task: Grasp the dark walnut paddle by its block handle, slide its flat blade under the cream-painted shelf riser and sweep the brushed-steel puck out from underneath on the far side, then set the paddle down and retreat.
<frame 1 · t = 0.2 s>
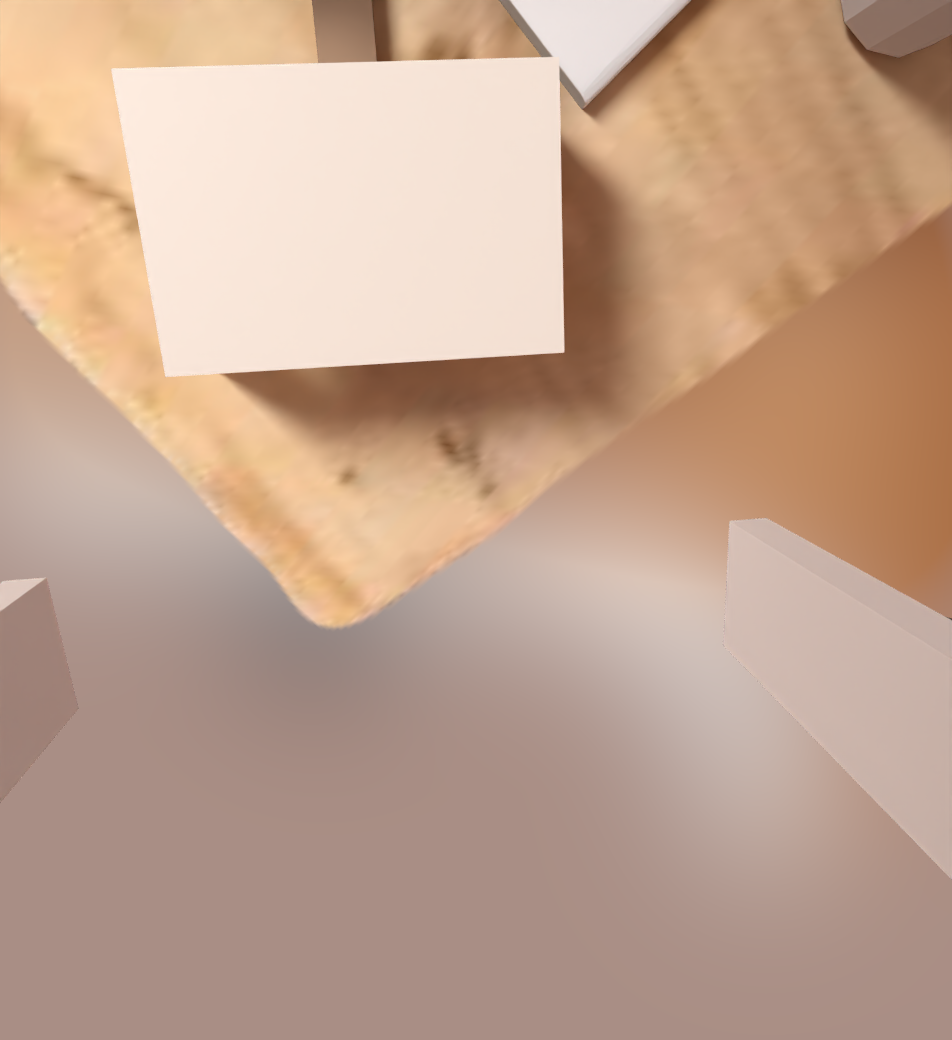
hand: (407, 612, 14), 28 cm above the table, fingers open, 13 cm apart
shelf riser: (365, 240, 37), on the table
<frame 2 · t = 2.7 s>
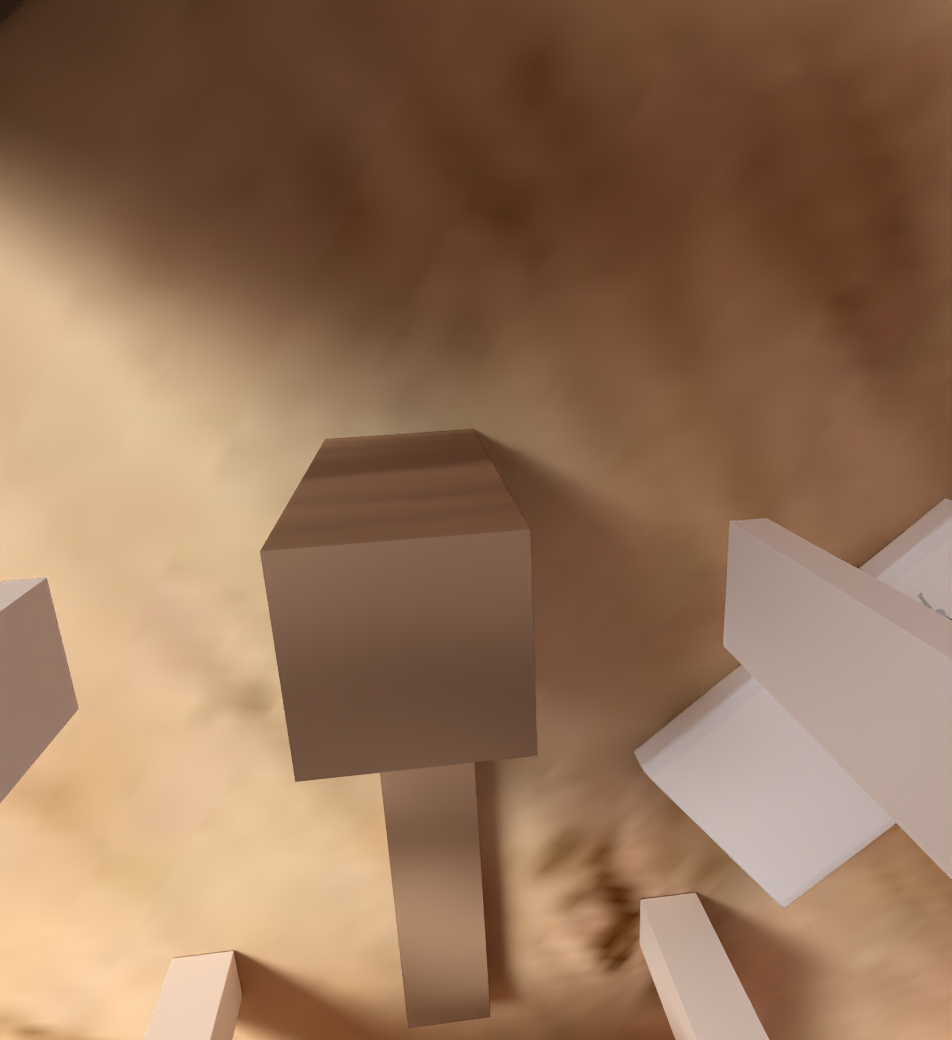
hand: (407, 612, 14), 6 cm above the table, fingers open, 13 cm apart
external hard drive: (839, 697, 24), on the table
walnut paddle: (405, 504, 20), on the table
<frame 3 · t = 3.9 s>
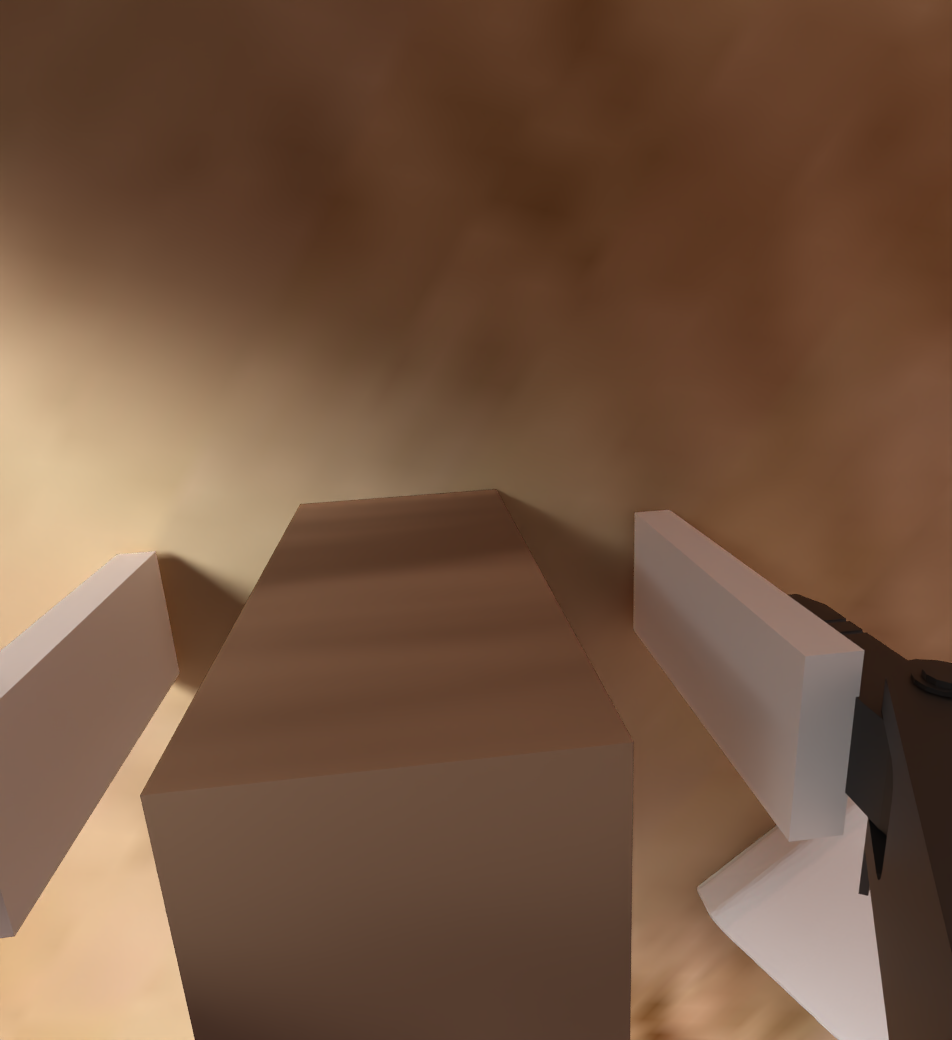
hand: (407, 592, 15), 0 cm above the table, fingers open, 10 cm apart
external hard drive: (949, 814, 19), on the table
walnut paddle: (407, 587, 15), on the table
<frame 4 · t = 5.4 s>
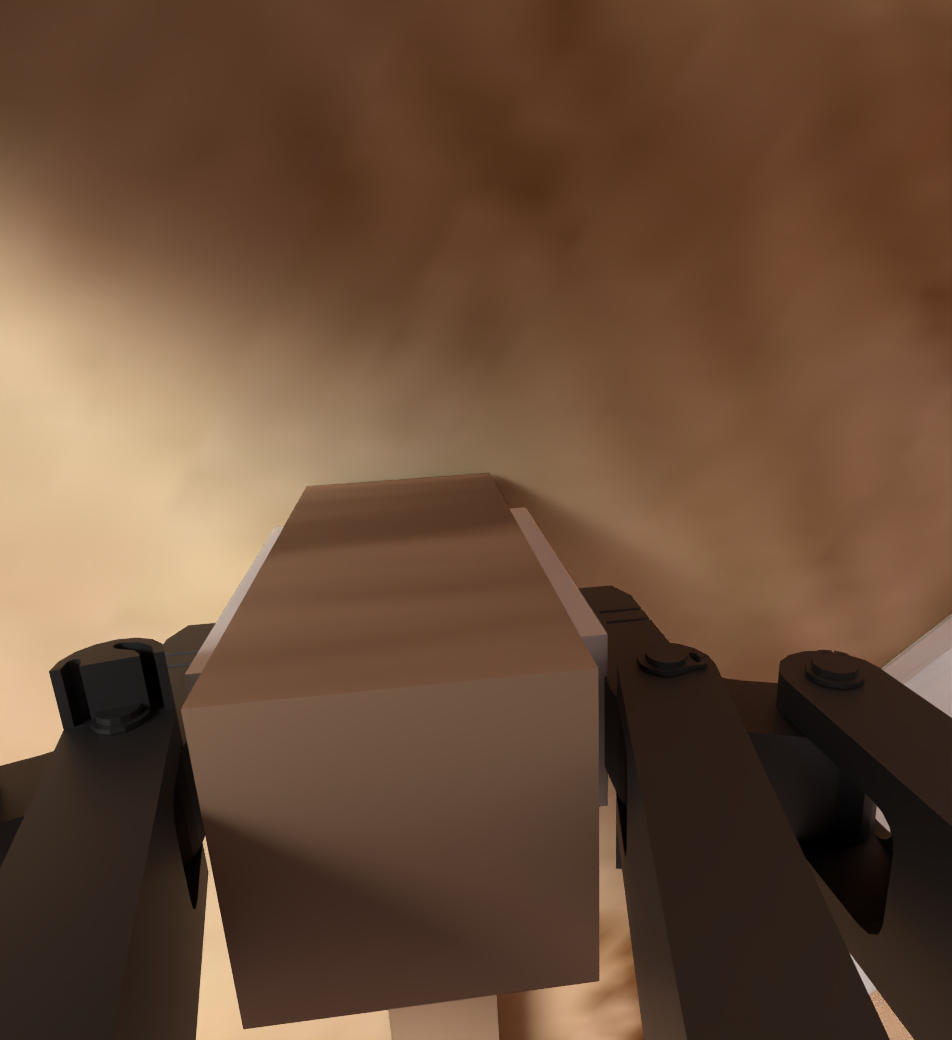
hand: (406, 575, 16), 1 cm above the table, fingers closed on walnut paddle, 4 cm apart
external hard drive: (914, 765, 20), on the table
walnut paddle: (406, 565, 16), on the table, touching gripper
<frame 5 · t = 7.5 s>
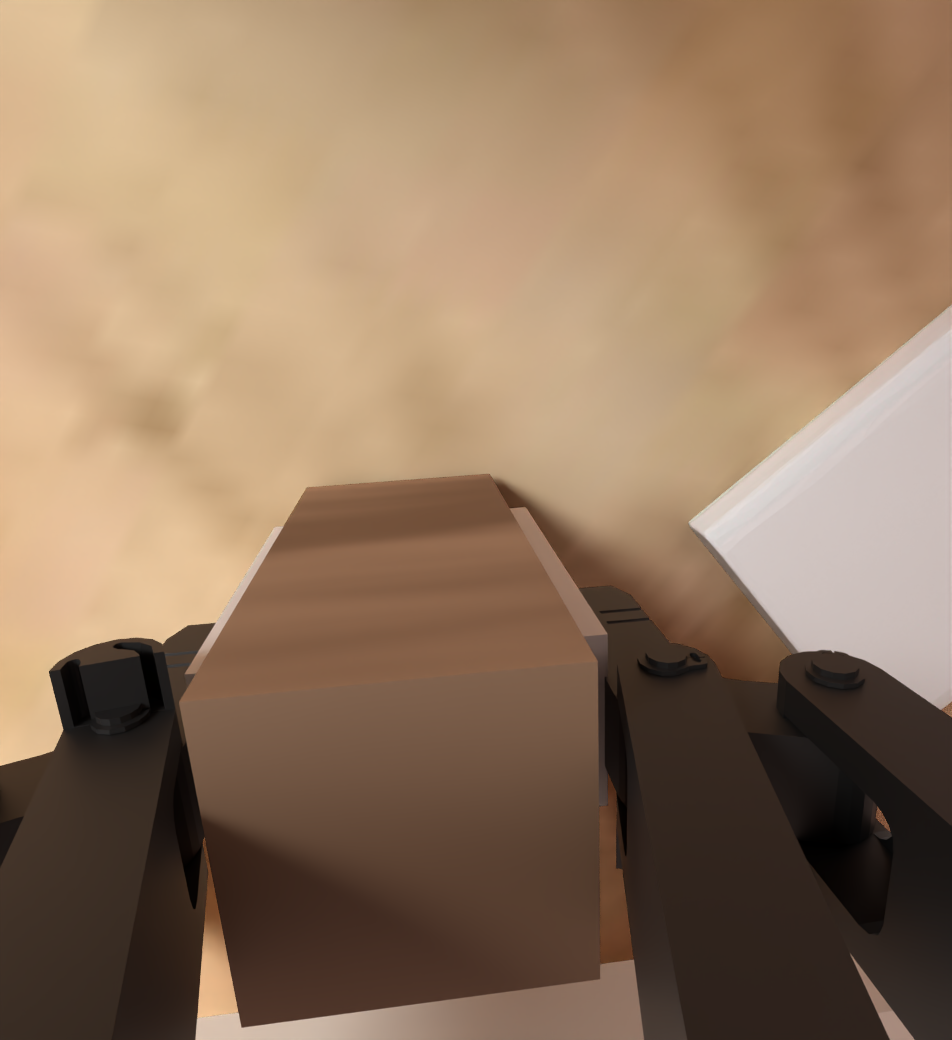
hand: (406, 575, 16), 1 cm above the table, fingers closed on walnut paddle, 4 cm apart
shelf riser: (440, 954, 19), on the table
walnut paddle: (406, 566, 16), on the table, touching gripper
when the fingers open (1 cm above the table, at t = 9.3 s): walnut paddle stays where it is, on the table.
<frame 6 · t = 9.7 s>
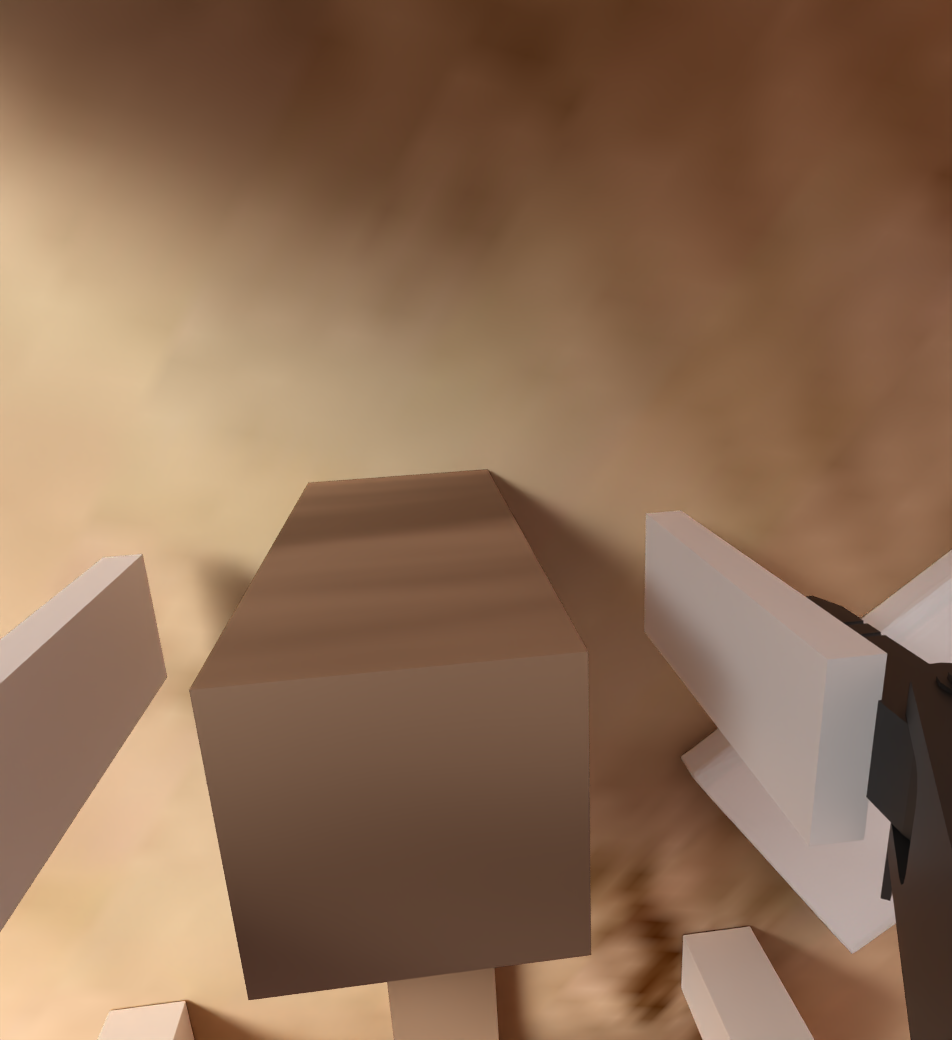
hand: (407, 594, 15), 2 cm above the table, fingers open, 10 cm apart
external hard drive: (926, 699, 20), on the table
walnut paddle: (406, 560, 16), on the table
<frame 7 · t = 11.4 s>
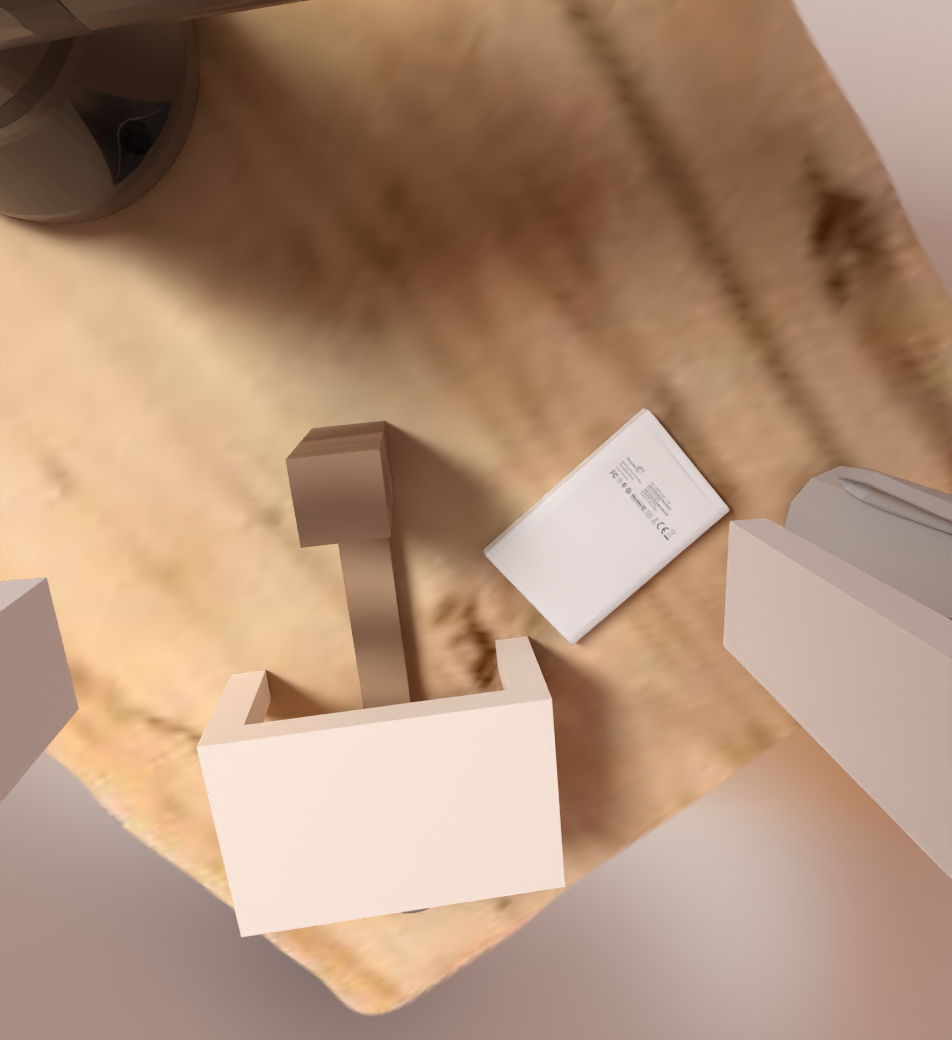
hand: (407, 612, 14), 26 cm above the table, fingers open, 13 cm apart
external hard drive: (601, 525, 42), on the table
water bottle: (823, 506, 43), on the table
shelf riser: (394, 740, 44), on the table
walnut paddle: (353, 460, 39), on the table
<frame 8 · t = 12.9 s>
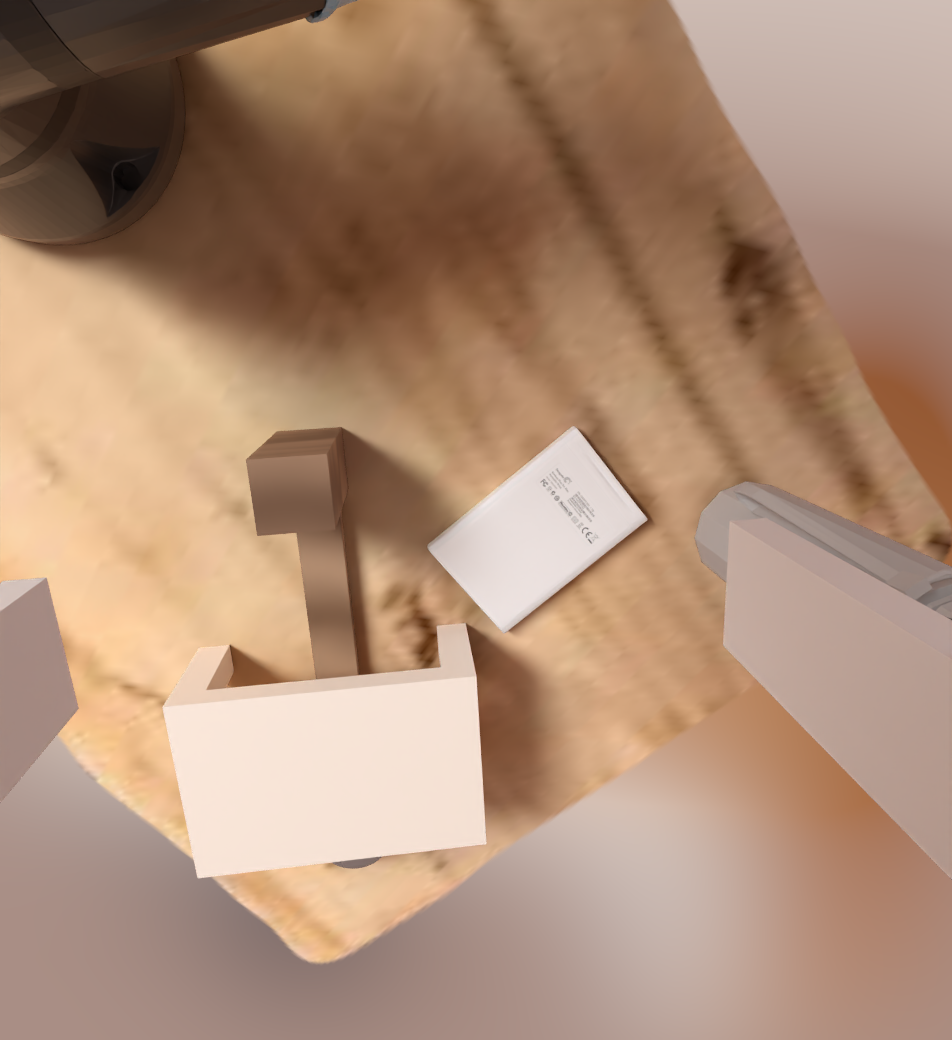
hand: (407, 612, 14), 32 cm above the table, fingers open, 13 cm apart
steel puck: (356, 815, 52), on the table
external hard drive: (534, 527, 48), on the table
water bottle: (732, 517, 48), on the table
shelf riser: (343, 712, 49), on the table
walnut paddle: (313, 460, 44), on the table
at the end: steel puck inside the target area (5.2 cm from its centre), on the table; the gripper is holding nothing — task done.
